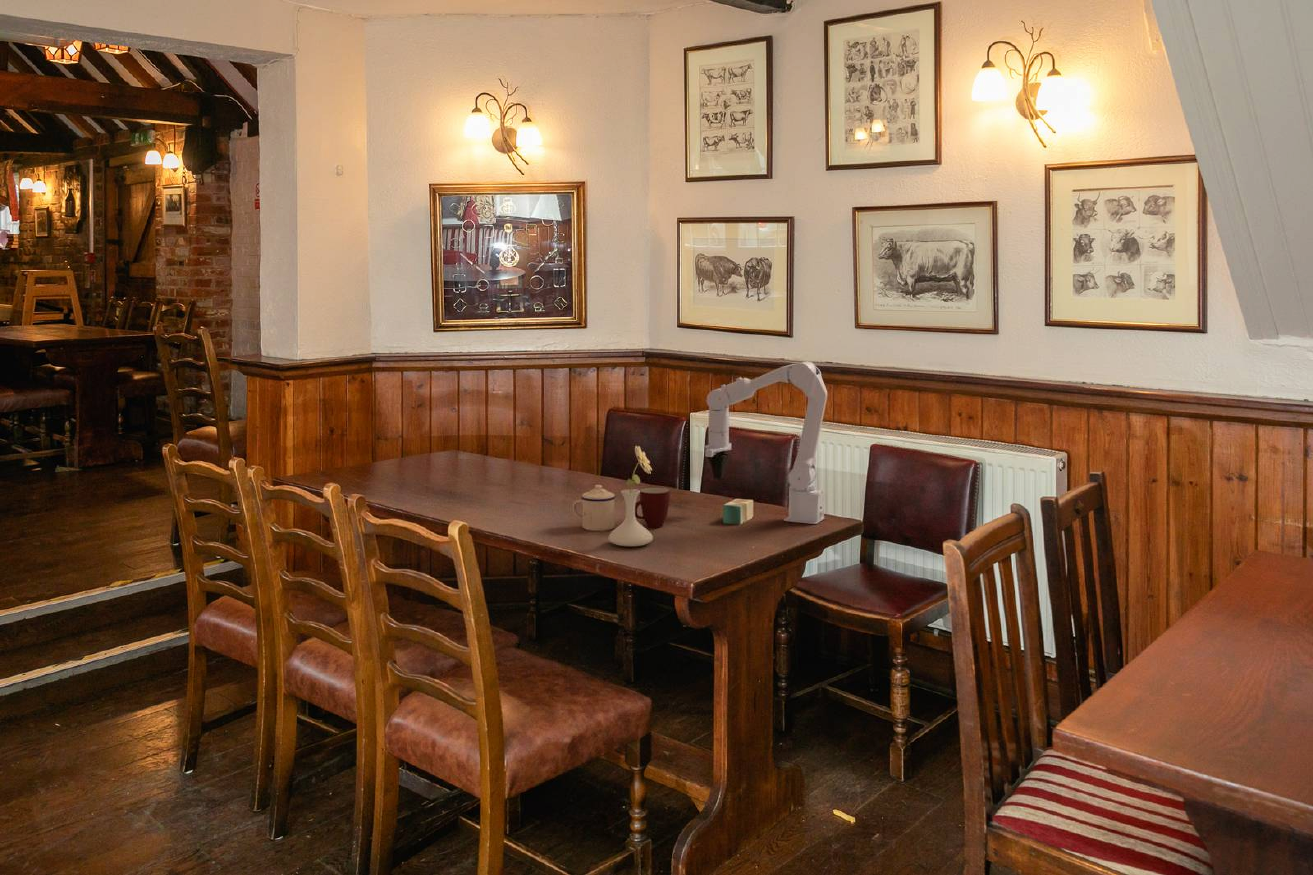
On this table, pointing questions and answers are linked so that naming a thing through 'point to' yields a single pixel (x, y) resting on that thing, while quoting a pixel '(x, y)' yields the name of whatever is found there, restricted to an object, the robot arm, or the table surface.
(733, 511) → the birch block
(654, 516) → the mug
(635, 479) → the flower in vase
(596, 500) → the teacup with lid
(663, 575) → the table surface
